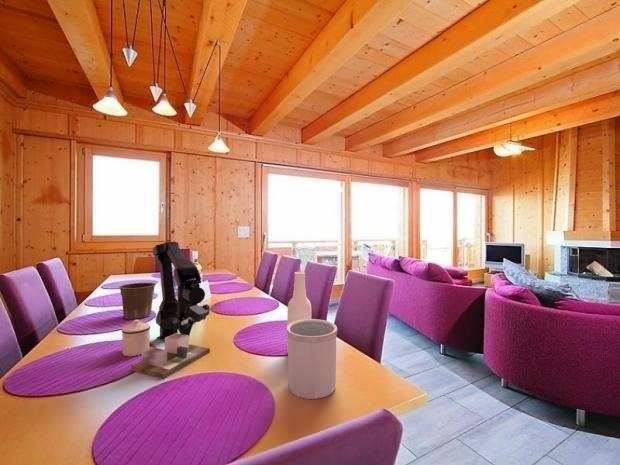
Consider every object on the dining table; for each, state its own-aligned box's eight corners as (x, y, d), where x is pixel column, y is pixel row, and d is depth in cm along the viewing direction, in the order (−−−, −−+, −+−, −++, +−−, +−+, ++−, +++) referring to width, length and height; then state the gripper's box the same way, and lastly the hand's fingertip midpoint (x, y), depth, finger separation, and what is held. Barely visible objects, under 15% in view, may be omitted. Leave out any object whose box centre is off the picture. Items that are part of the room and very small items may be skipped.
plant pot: (135, 311, 160) (135, 281, 159) (162, 312, 157) (162, 282, 157) (111, 320, 144) (111, 287, 143) (140, 322, 141) (140, 288, 141)
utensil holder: (296, 406, 75) (297, 339, 75) (279, 379, 89) (280, 322, 89) (346, 394, 81) (346, 331, 81) (322, 370, 95) (323, 316, 95)
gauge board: (131, 370, 93) (131, 353, 93) (180, 346, 113) (180, 332, 112) (163, 378, 88) (164, 360, 88) (209, 352, 108) (209, 337, 107)
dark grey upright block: (177, 356, 99) (177, 347, 99) (180, 355, 101) (180, 346, 101) (183, 358, 98) (183, 349, 98) (186, 356, 100) (186, 347, 100)
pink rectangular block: (164, 351, 103) (164, 337, 103) (176, 346, 108) (176, 333, 108) (186, 356, 100) (187, 341, 100) (197, 350, 104) (197, 336, 104)
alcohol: (299, 346, 113) (300, 270, 113) (316, 353, 107) (316, 272, 107) (282, 353, 107) (282, 272, 107) (298, 361, 101) (299, 275, 101)
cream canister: (155, 349, 110) (155, 318, 110) (132, 358, 102) (132, 325, 101) (134, 343, 115) (134, 314, 115) (111, 352, 107) (111, 320, 106)
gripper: (184, 307, 97) (184, 353, 97) (219, 295, 114) (219, 334, 114) (158, 303, 100) (158, 348, 101) (197, 292, 118) (197, 330, 118)
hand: (185, 340), depth 108 cm, fingers closed
